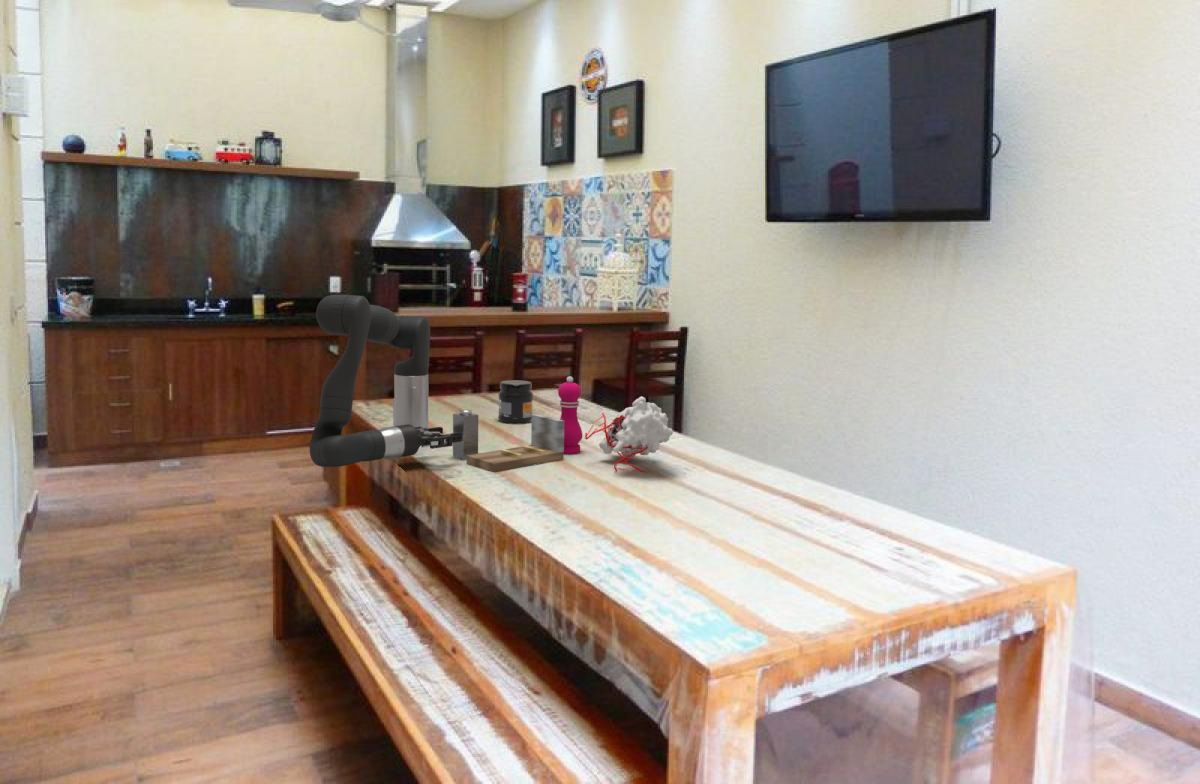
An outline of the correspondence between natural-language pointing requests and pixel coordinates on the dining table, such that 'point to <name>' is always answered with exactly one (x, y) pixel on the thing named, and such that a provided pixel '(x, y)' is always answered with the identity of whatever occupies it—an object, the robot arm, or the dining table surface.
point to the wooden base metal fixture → (527, 448)
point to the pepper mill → (570, 415)
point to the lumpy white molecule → (635, 431)
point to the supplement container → (515, 401)
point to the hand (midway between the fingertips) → (451, 433)
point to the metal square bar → (465, 433)
